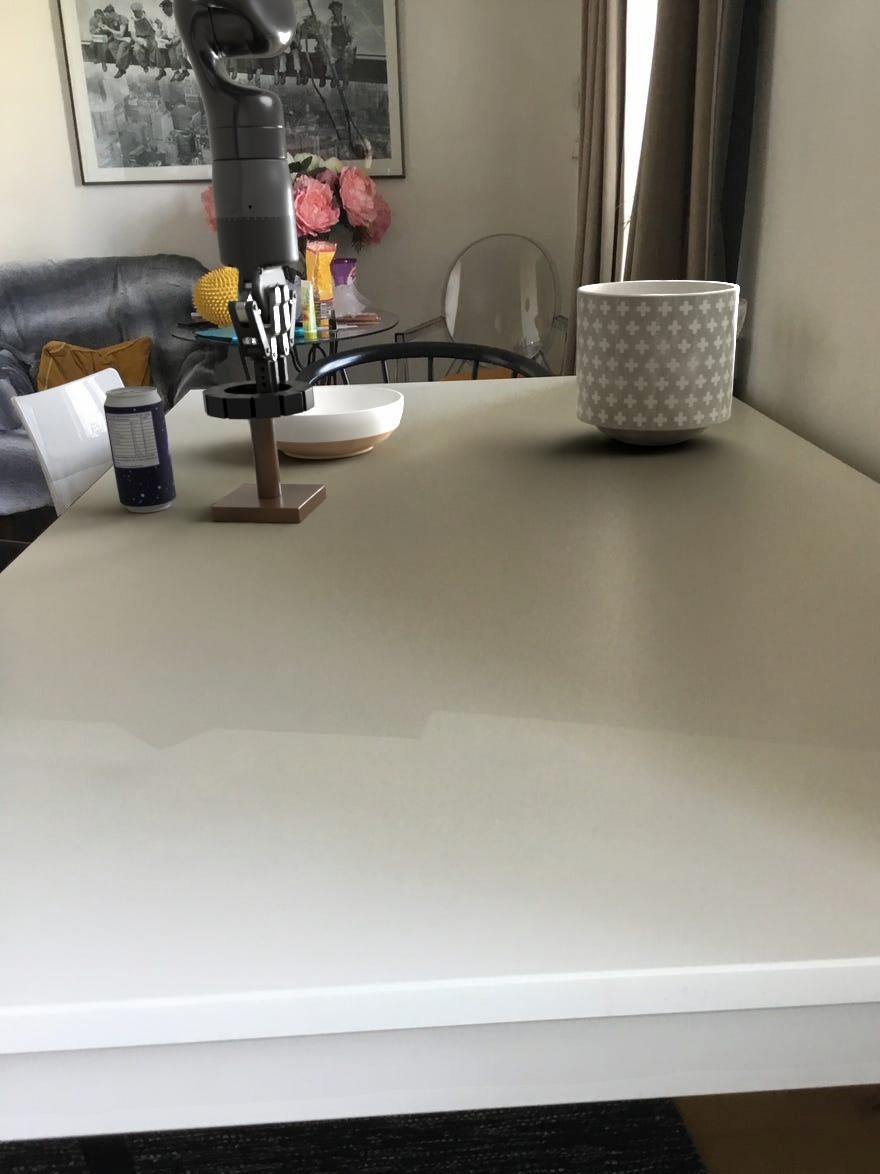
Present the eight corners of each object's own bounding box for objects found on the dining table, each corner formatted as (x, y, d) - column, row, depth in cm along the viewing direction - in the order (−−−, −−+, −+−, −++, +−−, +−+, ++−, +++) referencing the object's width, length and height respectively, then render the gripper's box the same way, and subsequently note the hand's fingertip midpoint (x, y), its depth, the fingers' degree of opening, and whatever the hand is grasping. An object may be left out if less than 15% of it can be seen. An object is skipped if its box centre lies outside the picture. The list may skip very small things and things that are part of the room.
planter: (736, 456, 122) (747, 293, 115) (572, 456, 125) (573, 296, 118) (721, 423, 140) (731, 279, 133) (578, 423, 142) (579, 281, 135)
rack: (212, 521, 104) (197, 404, 100) (245, 496, 112) (232, 387, 108) (300, 523, 103) (288, 404, 98) (326, 498, 111) (316, 387, 106)
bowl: (426, 434, 138) (423, 387, 136) (374, 470, 121) (370, 417, 119) (289, 430, 143) (285, 384, 141) (221, 464, 126) (214, 413, 124)
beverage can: (188, 505, 110) (171, 389, 105) (139, 518, 106) (119, 397, 101) (159, 496, 113) (142, 383, 108) (110, 508, 109) (90, 391, 105)
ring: (188, 419, 100) (185, 397, 99) (230, 399, 109) (228, 379, 108) (292, 420, 98) (290, 398, 97) (327, 399, 107) (325, 379, 106)
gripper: (268, 213, 93) (287, 409, 100) (314, 210, 106) (328, 384, 113) (188, 215, 95) (212, 409, 101) (243, 212, 107) (262, 384, 114)
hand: (273, 395), depth 107 cm, fingers closed on ring, 2 cm apart
